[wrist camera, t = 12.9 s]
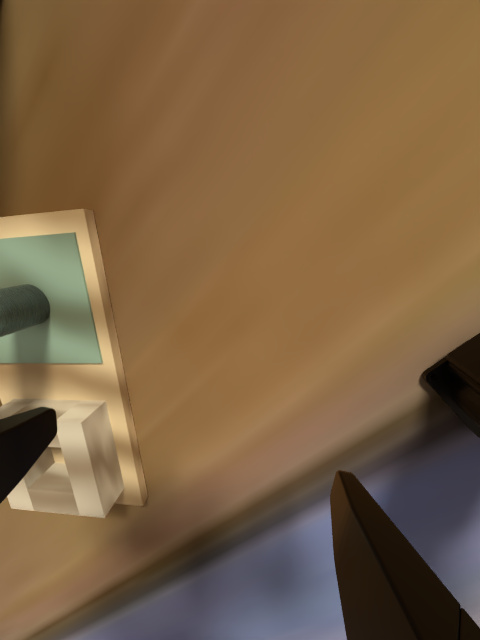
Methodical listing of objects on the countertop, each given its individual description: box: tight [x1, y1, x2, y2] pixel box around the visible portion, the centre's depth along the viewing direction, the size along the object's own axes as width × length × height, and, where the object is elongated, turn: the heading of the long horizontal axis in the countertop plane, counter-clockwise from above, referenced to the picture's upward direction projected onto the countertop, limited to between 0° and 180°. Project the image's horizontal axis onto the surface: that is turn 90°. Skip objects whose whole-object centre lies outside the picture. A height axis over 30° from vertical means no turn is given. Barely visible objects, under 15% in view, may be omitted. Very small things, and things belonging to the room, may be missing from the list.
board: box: [0, 209, 148, 518], centre depth 23 cm, size 26×12×4 cm, turn 4°
